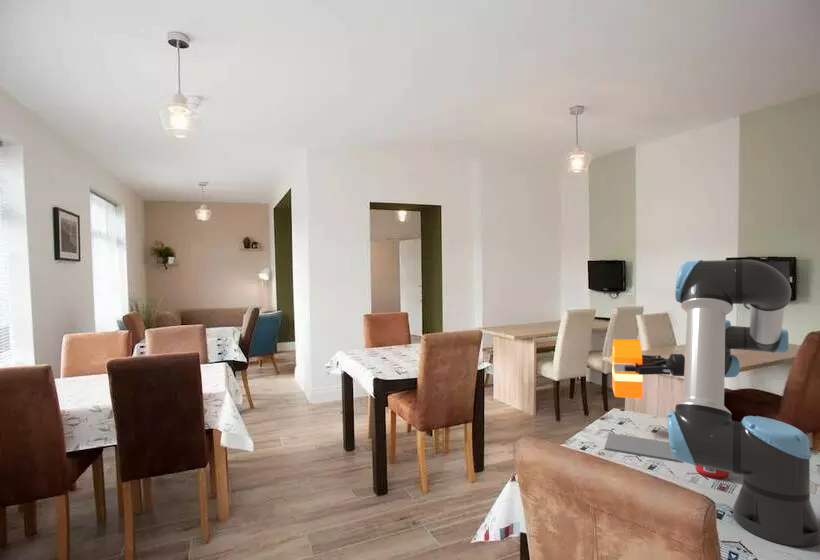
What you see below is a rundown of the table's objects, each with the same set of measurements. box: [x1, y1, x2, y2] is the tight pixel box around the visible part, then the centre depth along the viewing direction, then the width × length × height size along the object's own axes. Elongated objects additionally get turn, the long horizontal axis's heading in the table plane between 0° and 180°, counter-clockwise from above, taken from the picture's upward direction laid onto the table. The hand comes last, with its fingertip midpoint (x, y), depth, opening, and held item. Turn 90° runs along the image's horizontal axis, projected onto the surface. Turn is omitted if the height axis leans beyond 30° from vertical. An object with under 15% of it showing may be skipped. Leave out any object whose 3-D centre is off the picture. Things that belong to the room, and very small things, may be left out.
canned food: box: [695, 465, 730, 480], centre depth 126 cm, size 8×8×11 cm
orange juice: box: [611, 338, 643, 399], centre depth 158 cm, size 8×9×20 cm
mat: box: [604, 433, 681, 463], centre depth 145 cm, size 14×21×1 cm, turn 60°
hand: (612, 363), depth 160 cm, fingers closed on orange juice, 8 cm apart
